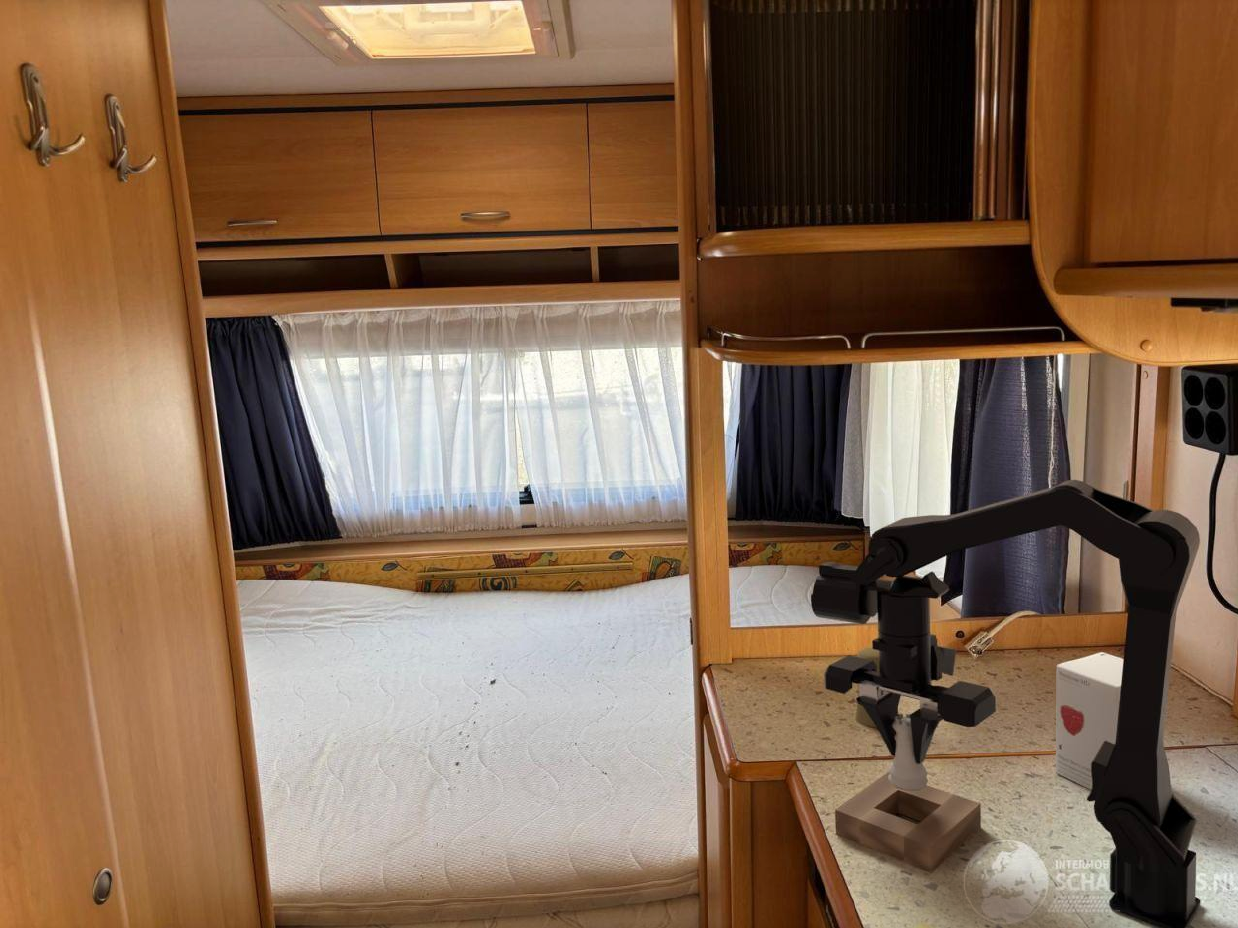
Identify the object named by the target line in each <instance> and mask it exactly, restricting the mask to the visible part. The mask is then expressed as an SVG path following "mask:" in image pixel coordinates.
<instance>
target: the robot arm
mask: <svg viewBox="0 0 1238 928" xmlns="http://www.w3.org/2000/svg"><path fill="white" fill-rule="evenodd" d="M1059 526H1063V527H1065V528H1067V529H1069V530H1072V531H1074V533H1075V534H1077V535H1078V536H1080V537H1082V538H1083V539H1085V540H1086V541H1087V542H1089V543H1090V544H1091V545H1093V546H1094V547H1096V548H1097V549H1098V550H1100V551H1102V552H1104V553H1106V554H1108V555H1110V556H1112V557H1114V558H1116V559H1118V563H1119V565H1118V566H1119V572H1120V582H1121V586H1122V590H1123V593H1124V598H1125V602H1126V605H1127V619H1126V630H1125V641H1124V651H1123V652H1124V653H1123V659H1124V660H1123V670H1122V681H1121V691H1120V701H1119V712H1118V722H1117V732H1116V742H1115V744H1112V743H1110V742H1107V741H1104V742H1103V744H1102V746H1101V747H1100V749H1099V751H1098V752H1097V754H1096V756H1095V757H1094V759H1093V761H1092V763H1091V775H1092V790H1090V792H1089V794H1088V796H1087V797H1086V801H1087V802H1090V803H1091V802H1094V803H1093V810H1094V812H1093V813H1094V816H1095V818H1096V821H1097V822H1098V823H1100V824H1101V826H1102V827H1103V828H1104V830H1106V831H1107V832H1108V833H1109V834H1110V836H1111V839H1112V842H1113V844H1114V847H1115V848H1114V850H1112V852H1111V853H1110V855H1109V859H1110V860H1109V890H1110V892H1111V893H1113V895H1112V897H1111V898H1110V899H1109V901H1108V903H1109V904H1108V905H1109V907H1110V908H1111V909H1113V910H1116V911H1118V912H1121V913H1124V914H1127V915H1129V916H1131V917H1135V918H1136V919H1139V920H1142V921H1144V922H1147V923H1150V924H1153V925H1155V926H1158V927H1160V928H1188V927H1189V925H1190V923H1191V922H1192V920H1193V918H1195V915H1196V913H1197V912H1198V910H1199V908H1200V907H1201V899H1200V898H1198V897H1196V884H1197V883H1196V881H1197V852H1195V851H1193V850H1190V849H1189V848H1190V845H1191V844H1190V843H1191V840H1192V838H1193V835H1194V833H1195V832H1194V831H1195V828H1196V825H1197V822H1198V821H1197V818H1196V817H1195V816H1194V814H1192V813H1191V811H1189V810H1188V809H1187V808H1186V806H1185V805H1184V804H1183V803H1182V802H1181V801H1180V800H1179V799H1178V798H1177V797H1176V796H1175V795H1174V794H1173V793H1172V783H1171V774H1170V773H1171V772H1170V765H1169V762H1168V757H1167V753H1166V750H1165V745H1163V734H1164V735H1165V733H1164V732H1165V723H1166V713H1167V704H1168V694H1169V687H1170V677H1171V670H1172V669H1171V666H1172V660H1173V659H1172V657H1173V649H1174V641H1175V640H1174V638H1175V631H1176V630H1175V628H1176V620H1177V611H1178V608H1179V604H1180V601H1181V599H1182V596H1183V594H1184V591H1185V589H1186V586H1187V582H1188V580H1189V577H1190V574H1191V572H1192V570H1193V566H1194V563H1195V561H1196V560H1195V559H1196V558H1197V554H1198V551H1199V549H1200V545H1201V544H1200V543H1201V539H1200V533H1199V531H1198V528H1197V526H1195V524H1194V523H1193V522H1192V521H1191V520H1190V519H1189V518H1188V517H1187V516H1185V515H1183V514H1181V513H1180V512H1178V511H1173V510H1168V509H1156V510H1153V509H1151V508H1149V507H1147V506H1145V505H1143V504H1140V503H1138V502H1136V501H1133V500H1130V499H1127V498H1123V497H1121V496H1117V495H1115V494H1112V493H1108V492H1107V491H1106V492H1105V491H1103V490H1101V489H1098V488H1096V487H1094V486H1091V485H1090V484H1088V483H1086V482H1085V481H1082V480H1078V479H1070V480H1065V481H1063V482H1061V483H1059V484H1058V485H1056V486H1052V487H1049V488H1044V489H1041V490H1039V491H1034V492H1031V493H1026V494H1023V495H1020V496H1017V497H1014V498H1009V499H1006V500H1001V501H998V502H995V503H992V504H987V505H985V506H981V507H978V508H974V509H969V510H966V511H963V512H959V513H955V514H944V515H942V514H941V515H940V514H938V515H937V514H936V515H935V514H934V515H933V514H932V515H931V514H930V515H919V516H910V517H903V518H900V519H898V520H896V521H894V522H892V523H890V524H887V525H885V526H883V527H881V528H879V529H877V530H875V531H874V532H873V533H872V534H871V537H870V539H869V541H868V546H867V547H868V548H867V551H868V553H867V554H866V556H865V557H863V560H862V561H861V563H860V564H859V565H848V564H841V563H839V562H836V561H835V562H834V561H825V562H823V563H821V564H820V565H819V566H818V574H817V577H816V579H815V582H814V584H813V588H812V593H811V594H810V602H811V603H810V604H811V609H812V611H813V613H814V615H815V616H816V618H819V619H826V620H834V621H840V622H846V623H852V624H857V625H858V624H859V625H865V624H867V622H869V620H870V618H874V617H875V616H876V615H877V636H878V637H876V638H875V639H873V640H872V642H871V645H872V646H871V647H873V649H875V650H879V672H877V665H876V664H875V662H874V661H872V660H868V659H864V658H860V657H857V656H854V655H851V654H850V655H846V656H844V657H843V658H841V659H839V660H837V661H835V662H833V663H831V664H829V665H828V666H827V667H826V669H825V672H824V673H823V677H824V678H823V679H824V680H823V681H824V688H825V689H826V690H829V691H832V692H834V693H838V694H839V693H840V694H842V695H845V694H847V693H848V692H850V691H851V690H852V689H853V684H855V685H857V687H858V691H860V696H859V697H858V696H857V697H856V699H855V702H856V705H857V704H860V705H862V706H863V707H864V709H865V710H866V712H867V713H868V715H869V716H870V718H871V720H872V721H873V723H874V724H875V726H876V727H875V728H876V729H877V731H878V733H879V734H880V737H881V739H882V740H883V742H884V744H885V746H886V748H887V750H888V751H889V753H890V755H891V757H895V752H896V740H895V738H894V737H895V735H896V731H895V729H894V728H893V726H892V724H893V722H894V721H895V716H898V714H899V704H900V700H901V697H902V696H903V697H907V698H910V699H915V700H917V701H918V700H919V708H918V709H916V710H915V711H913V712H912V713H909V714H910V721H911V730H912V740H913V750H914V756H915V760H916V763H917V764H921V763H924V761H925V759H926V756H927V753H928V751H929V748H930V745H931V742H932V740H933V737H934V735H935V732H936V730H937V727H938V726H939V724H940V722H942V721H944V722H947V723H951V724H953V725H957V726H962V727H965V728H975V727H977V726H978V725H979V724H981V723H982V722H983V721H985V720H986V719H988V718H989V717H991V716H992V715H993V714H994V713H996V710H997V707H996V704H997V701H996V700H997V699H996V696H995V694H994V692H993V691H992V690H991V688H990V687H989V686H984V685H980V684H975V683H971V682H967V681H962V680H958V681H956V682H955V683H954V684H953V685H951V686H949V687H946V686H943V685H942V686H941V685H933V684H932V681H937V682H938V681H940V680H941V679H943V674H944V675H948V676H951V677H952V676H954V670H955V665H956V657H957V649H954V648H952V647H951V648H950V647H946V646H942V645H941V646H940V645H938V638H937V634H932V633H931V605H930V604H931V601H930V599H938V598H940V597H942V596H943V595H944V594H946V593H947V592H948V591H950V586H948V585H947V584H946V583H945V582H944V581H943V580H942V579H940V578H938V576H937V574H936V573H935V572H934V571H930V572H928V573H926V574H925V575H924V576H923V577H918V576H917V577H916V576H911V575H910V576H909V574H912V573H913V572H915V571H918V570H920V569H921V568H924V567H926V566H928V565H930V564H933V563H934V562H937V561H939V560H940V559H942V558H945V557H947V556H950V555H951V554H953V553H955V552H959V551H963V550H966V549H971V548H975V547H979V546H983V545H987V544H991V543H996V542H998V541H1003V540H1006V539H1010V538H1015V537H1020V536H1023V535H1027V534H1030V533H1034V532H1039V531H1043V530H1046V529H1051V528H1055V527H1059ZM907 575H908V576H907ZM884 576H886V577H888V578H894V580H885V579H880V578H883V577H884Z"/></svg>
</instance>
